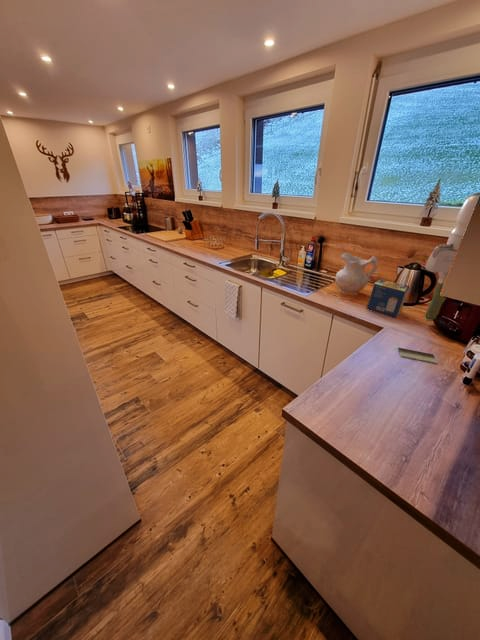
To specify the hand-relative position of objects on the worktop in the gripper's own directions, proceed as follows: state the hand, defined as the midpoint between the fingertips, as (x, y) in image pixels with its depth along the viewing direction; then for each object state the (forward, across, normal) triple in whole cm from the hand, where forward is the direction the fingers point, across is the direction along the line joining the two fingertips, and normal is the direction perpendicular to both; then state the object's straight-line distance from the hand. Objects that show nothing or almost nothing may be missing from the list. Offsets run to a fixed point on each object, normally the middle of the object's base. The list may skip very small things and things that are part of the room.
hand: (446, 282), depth 96 cm
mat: (+31, 0, 0) cm, 31 cm away
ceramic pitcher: (+31, +9, +66) cm, 74 cm away
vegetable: (+16, 0, 0) cm, 16 cm away
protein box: (+31, +13, +39) cm, 52 cm away
